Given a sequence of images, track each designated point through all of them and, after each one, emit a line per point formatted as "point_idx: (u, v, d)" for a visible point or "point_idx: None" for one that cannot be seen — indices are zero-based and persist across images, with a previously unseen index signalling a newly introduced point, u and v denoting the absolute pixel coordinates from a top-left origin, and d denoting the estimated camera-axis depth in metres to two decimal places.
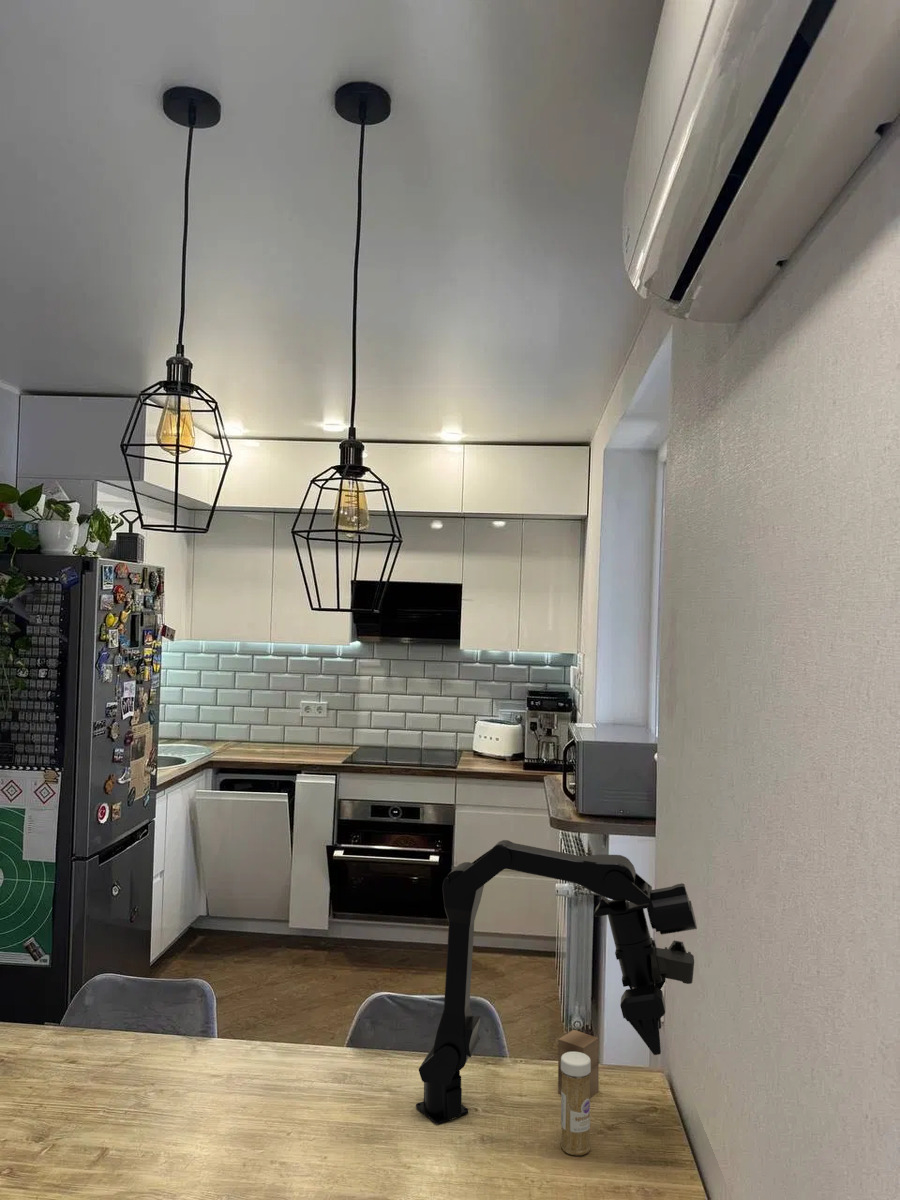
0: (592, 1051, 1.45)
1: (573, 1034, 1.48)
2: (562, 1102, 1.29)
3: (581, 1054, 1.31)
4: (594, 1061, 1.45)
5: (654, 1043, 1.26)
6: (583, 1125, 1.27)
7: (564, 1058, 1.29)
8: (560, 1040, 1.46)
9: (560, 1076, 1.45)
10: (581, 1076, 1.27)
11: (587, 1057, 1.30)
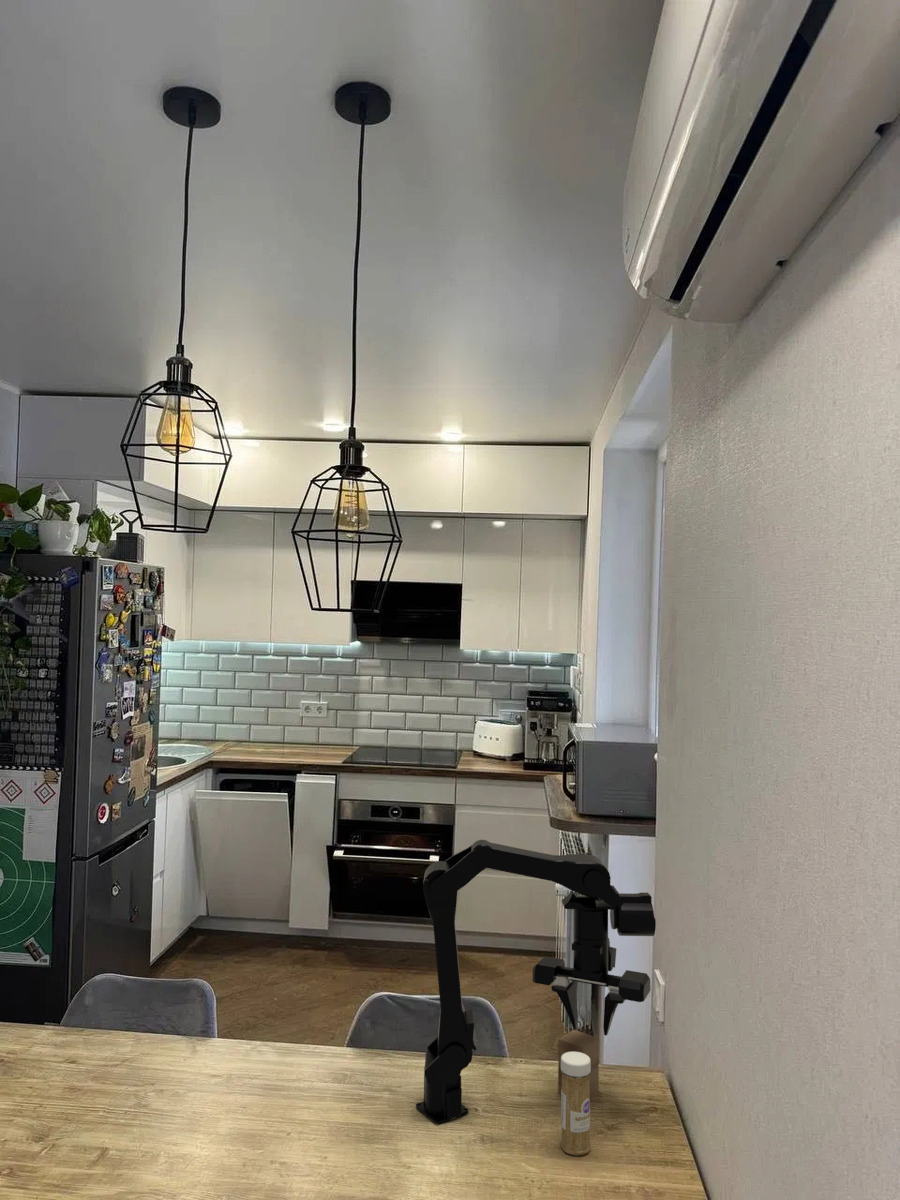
0: (592, 1051, 1.45)
1: (573, 1034, 1.48)
2: (562, 1102, 1.29)
3: (581, 1054, 1.31)
4: (594, 1061, 1.45)
5: (610, 1023, 1.39)
6: (583, 1125, 1.27)
7: (564, 1058, 1.29)
8: (560, 1040, 1.46)
9: (560, 1076, 1.45)
10: (581, 1076, 1.27)
11: (587, 1057, 1.30)
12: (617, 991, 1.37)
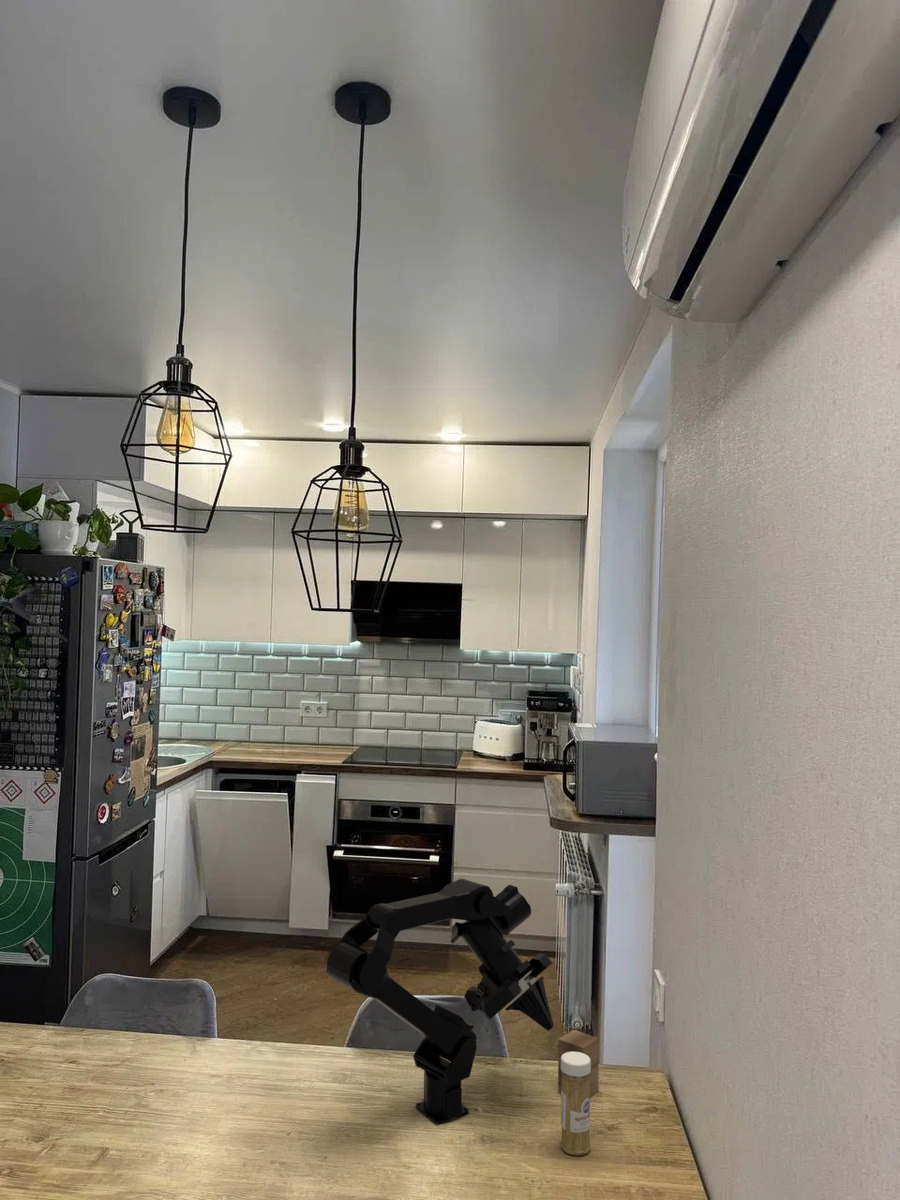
0: (592, 1051, 1.45)
1: (573, 1034, 1.48)
2: (562, 1102, 1.29)
3: (581, 1054, 1.31)
4: (594, 1061, 1.45)
5: None
6: (583, 1125, 1.27)
7: (564, 1058, 1.29)
8: (560, 1040, 1.46)
9: (560, 1076, 1.45)
10: (581, 1076, 1.27)
11: (587, 1057, 1.30)
12: (531, 979, 1.44)
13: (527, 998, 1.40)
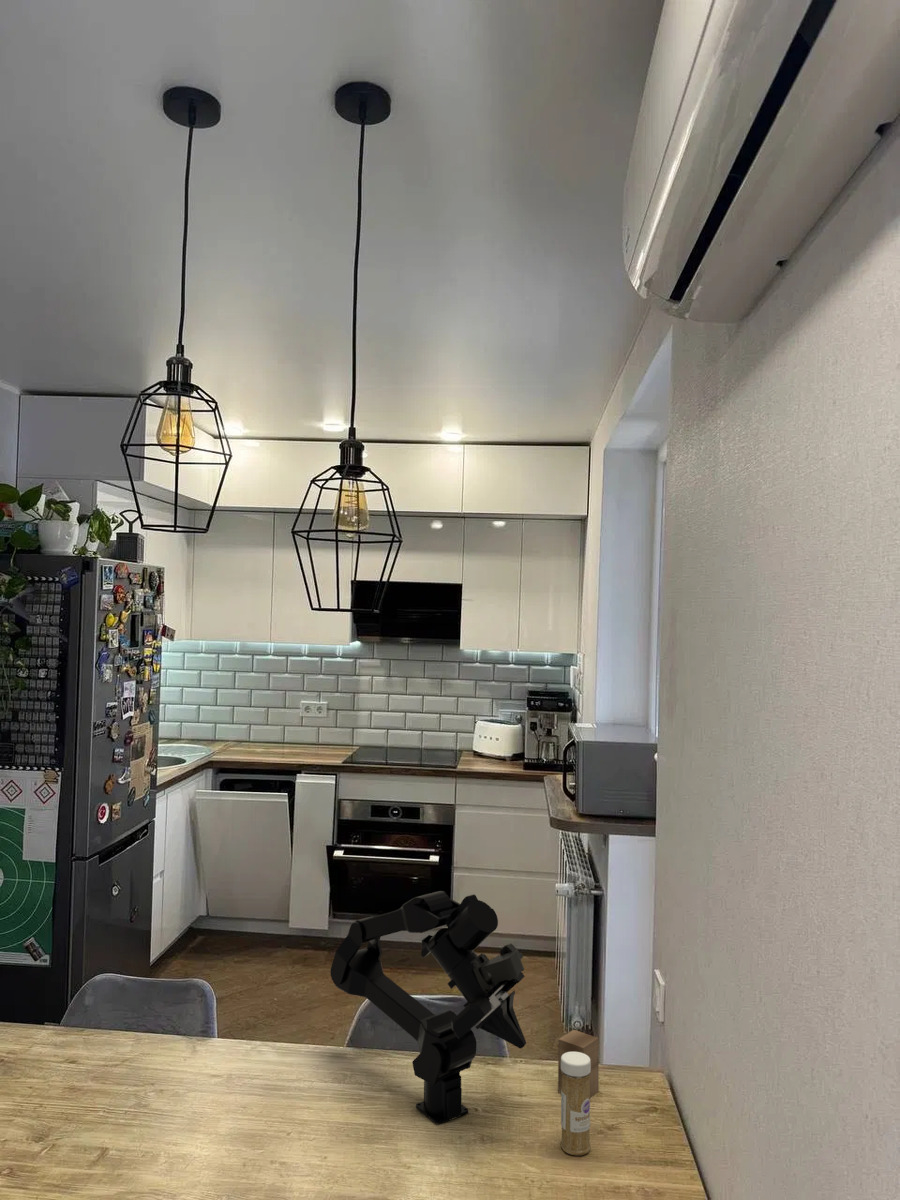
0: (592, 1051, 1.45)
1: (573, 1034, 1.48)
2: (562, 1102, 1.29)
3: (581, 1054, 1.31)
4: (594, 1061, 1.45)
5: (514, 1038, 1.33)
6: (583, 1125, 1.27)
7: (564, 1058, 1.29)
8: (560, 1040, 1.46)
9: (560, 1076, 1.45)
10: (581, 1076, 1.27)
11: (587, 1057, 1.30)
12: None
13: None
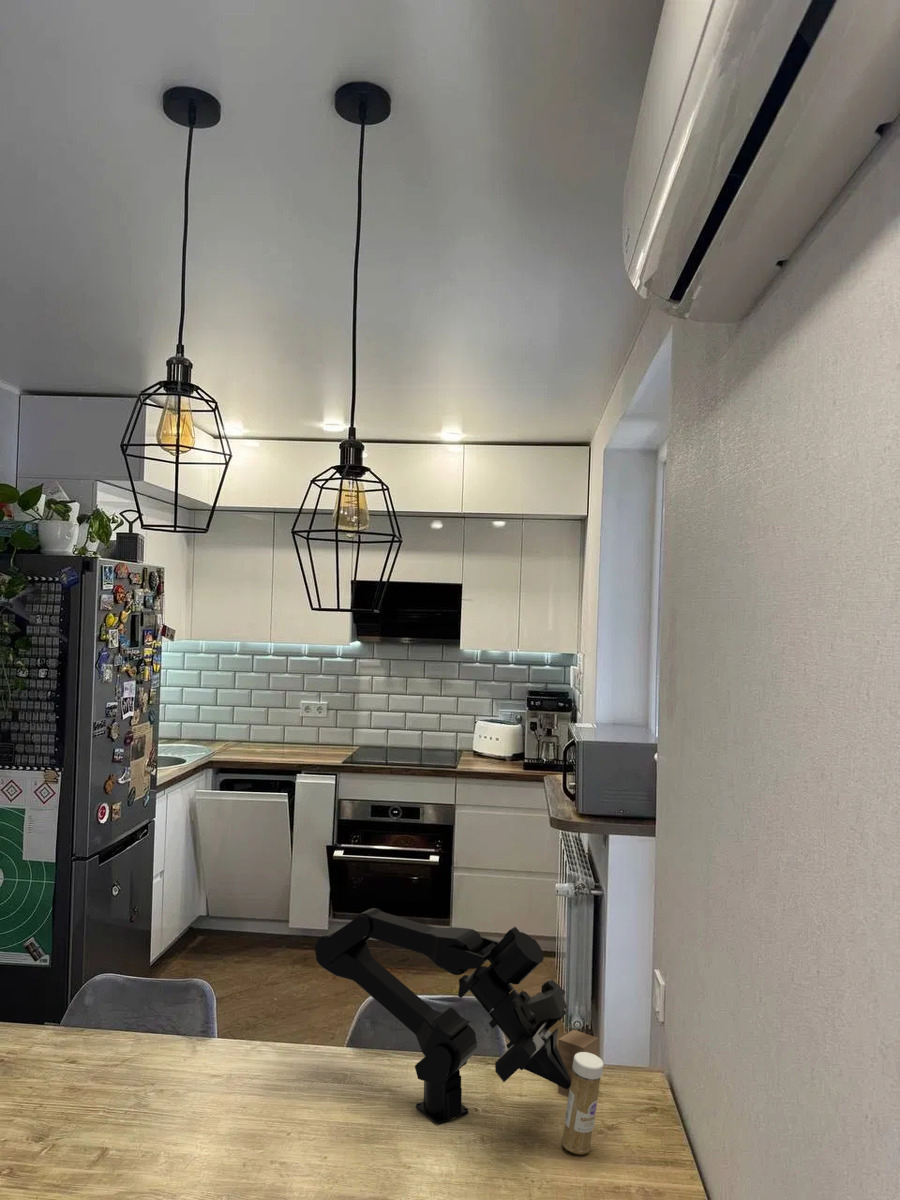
0: (592, 1051, 1.45)
1: (573, 1034, 1.48)
2: (569, 1100, 1.28)
3: (594, 1056, 1.30)
4: None
5: (559, 1078, 1.30)
6: (588, 1126, 1.27)
7: (577, 1058, 1.29)
8: (560, 1040, 1.46)
9: None
10: (592, 1079, 1.27)
11: (600, 1060, 1.29)
12: None
13: None
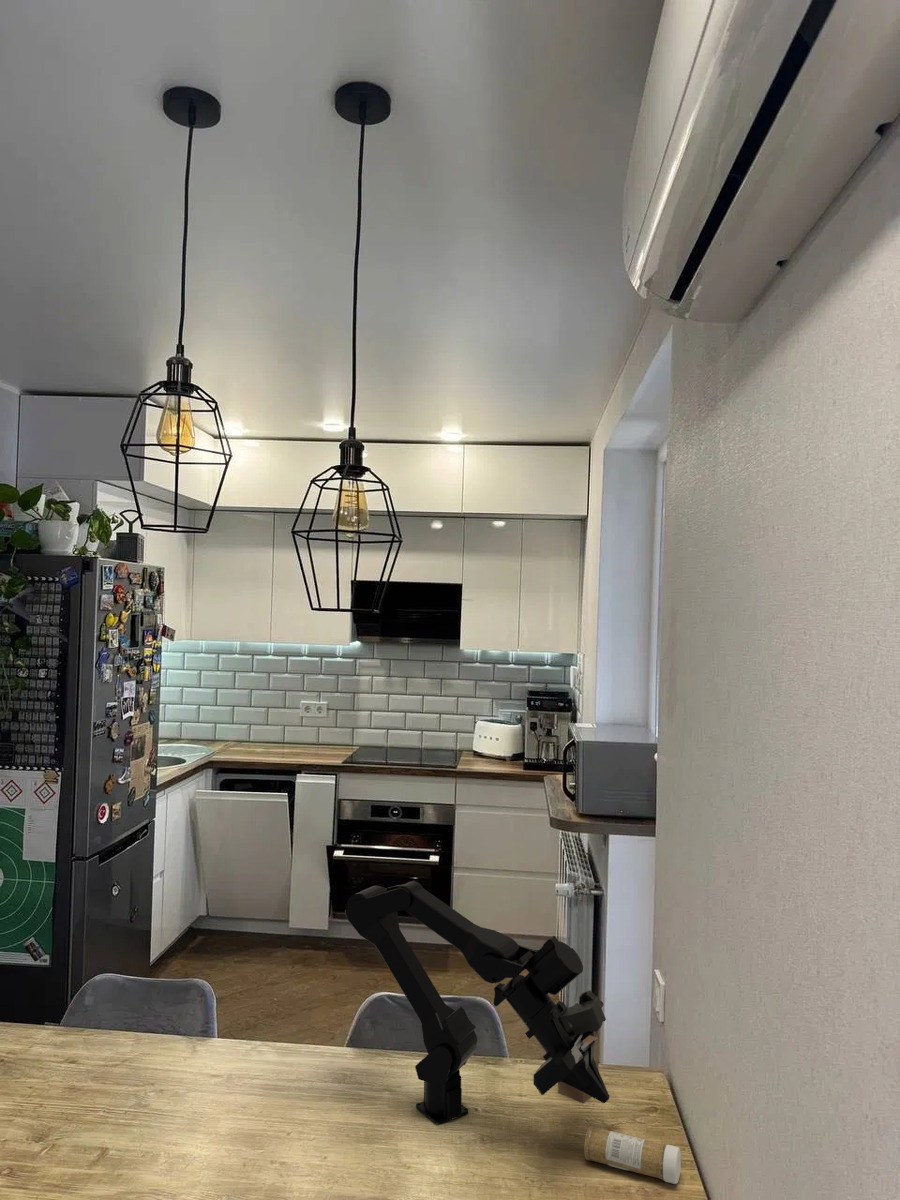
0: None
1: None
2: (630, 1160, 1.22)
3: (680, 1157, 1.22)
4: None
5: (597, 1092, 1.27)
6: None
7: (676, 1169, 1.19)
8: None
9: None
10: None
11: (680, 1164, 1.22)
12: None
13: None
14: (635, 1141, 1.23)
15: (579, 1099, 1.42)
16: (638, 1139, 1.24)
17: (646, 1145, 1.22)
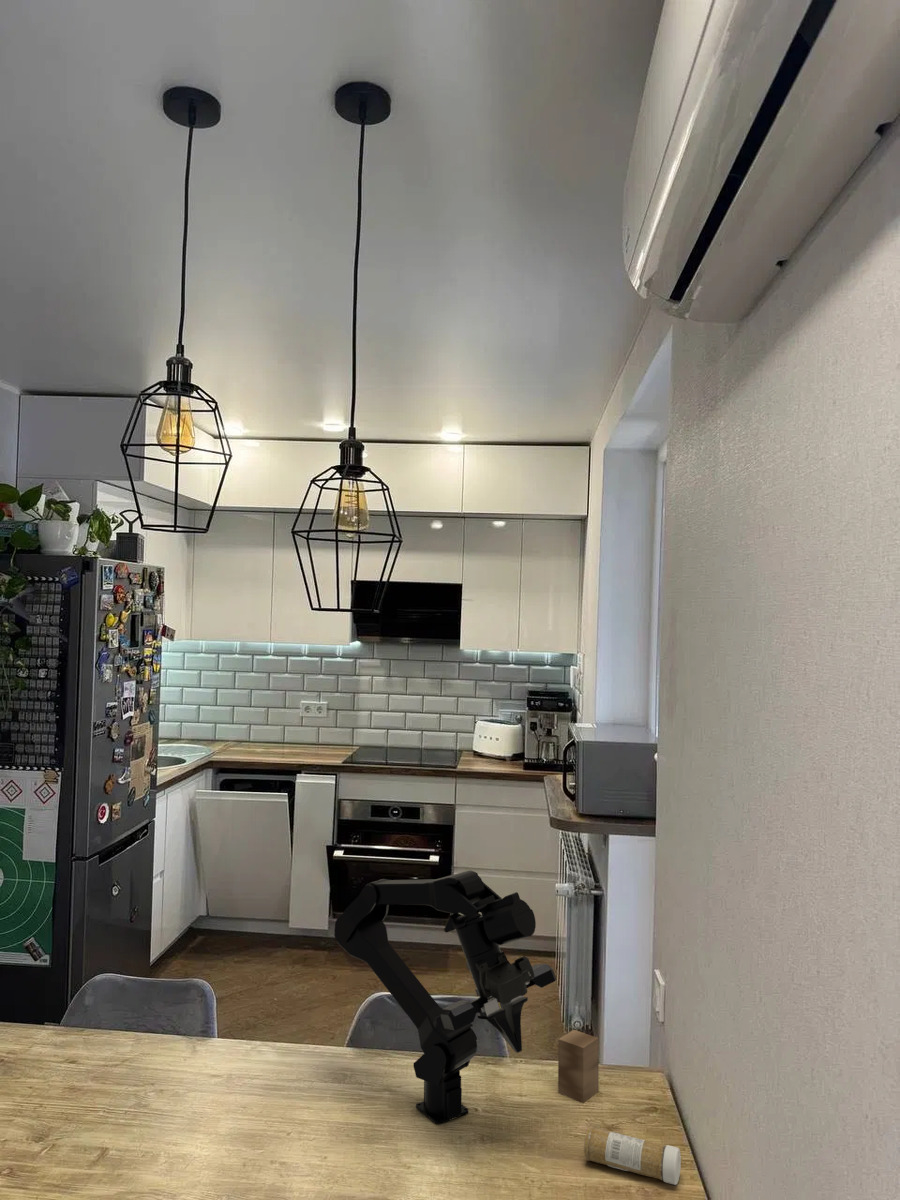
0: (592, 1051, 1.45)
1: (573, 1034, 1.48)
2: (630, 1161, 1.21)
3: (680, 1157, 1.22)
4: (594, 1061, 1.45)
5: (509, 1042, 1.32)
6: None
7: (676, 1171, 1.19)
8: (560, 1040, 1.46)
9: (560, 1076, 1.45)
10: None
11: (680, 1164, 1.22)
12: None
13: None
14: (634, 1142, 1.23)
15: (579, 1099, 1.42)
16: (638, 1140, 1.23)
17: (646, 1146, 1.22)
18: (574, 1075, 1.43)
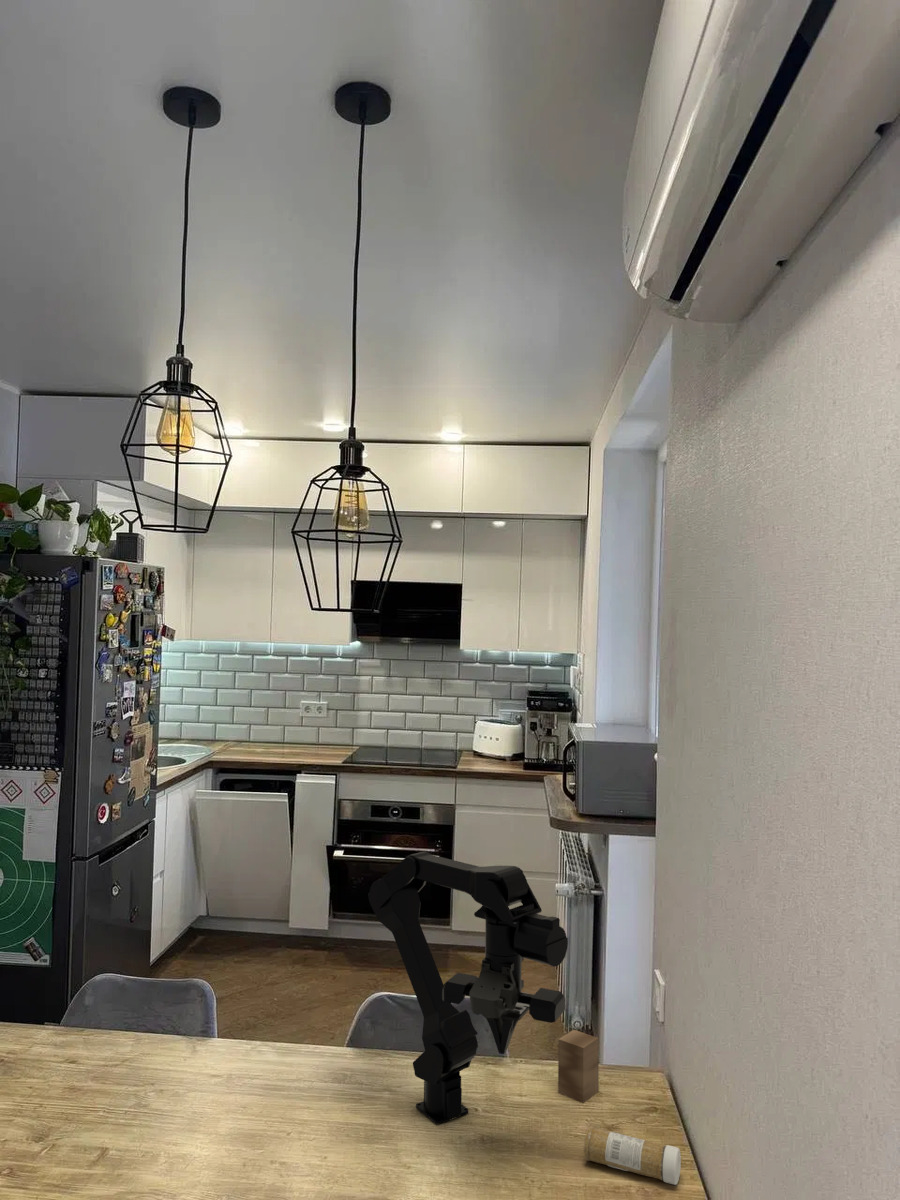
0: (592, 1051, 1.45)
1: (573, 1034, 1.48)
2: (630, 1161, 1.21)
3: (680, 1157, 1.22)
4: (594, 1061, 1.45)
5: None
6: None
7: (676, 1171, 1.19)
8: (560, 1040, 1.46)
9: (560, 1076, 1.45)
10: None
11: (680, 1164, 1.22)
12: None
13: None
14: (634, 1142, 1.23)
15: (579, 1099, 1.42)
16: (638, 1140, 1.23)
17: (646, 1146, 1.22)
18: (574, 1075, 1.43)
